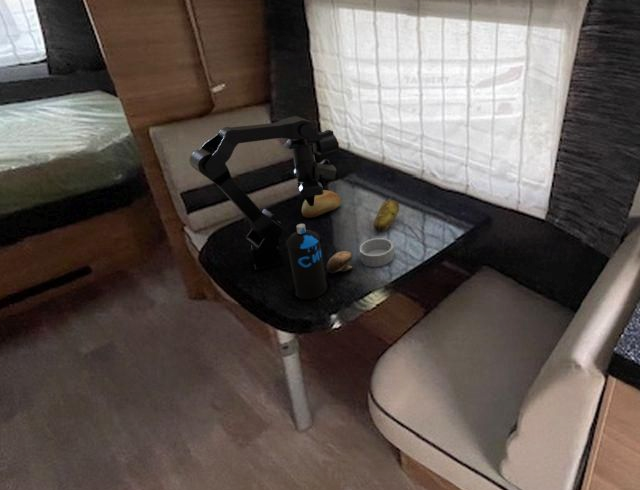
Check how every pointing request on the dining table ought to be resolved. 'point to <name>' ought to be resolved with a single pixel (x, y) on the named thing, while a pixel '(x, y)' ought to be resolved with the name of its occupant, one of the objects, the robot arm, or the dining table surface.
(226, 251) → the dining table surface
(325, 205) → the bread roll
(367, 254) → the white ramekin
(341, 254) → the mushroom
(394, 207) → the potato
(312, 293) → the aerosol can
